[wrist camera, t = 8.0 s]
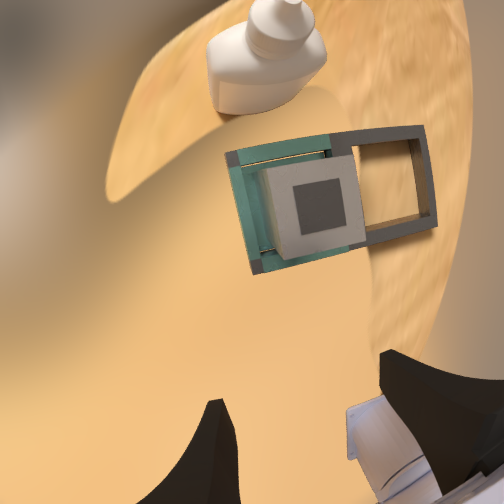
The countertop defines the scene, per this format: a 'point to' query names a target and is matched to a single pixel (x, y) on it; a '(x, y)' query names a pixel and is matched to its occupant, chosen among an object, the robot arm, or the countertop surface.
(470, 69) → the countertop surface
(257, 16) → the eye dropper bottle
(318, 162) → the block
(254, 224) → the grey flat frame
